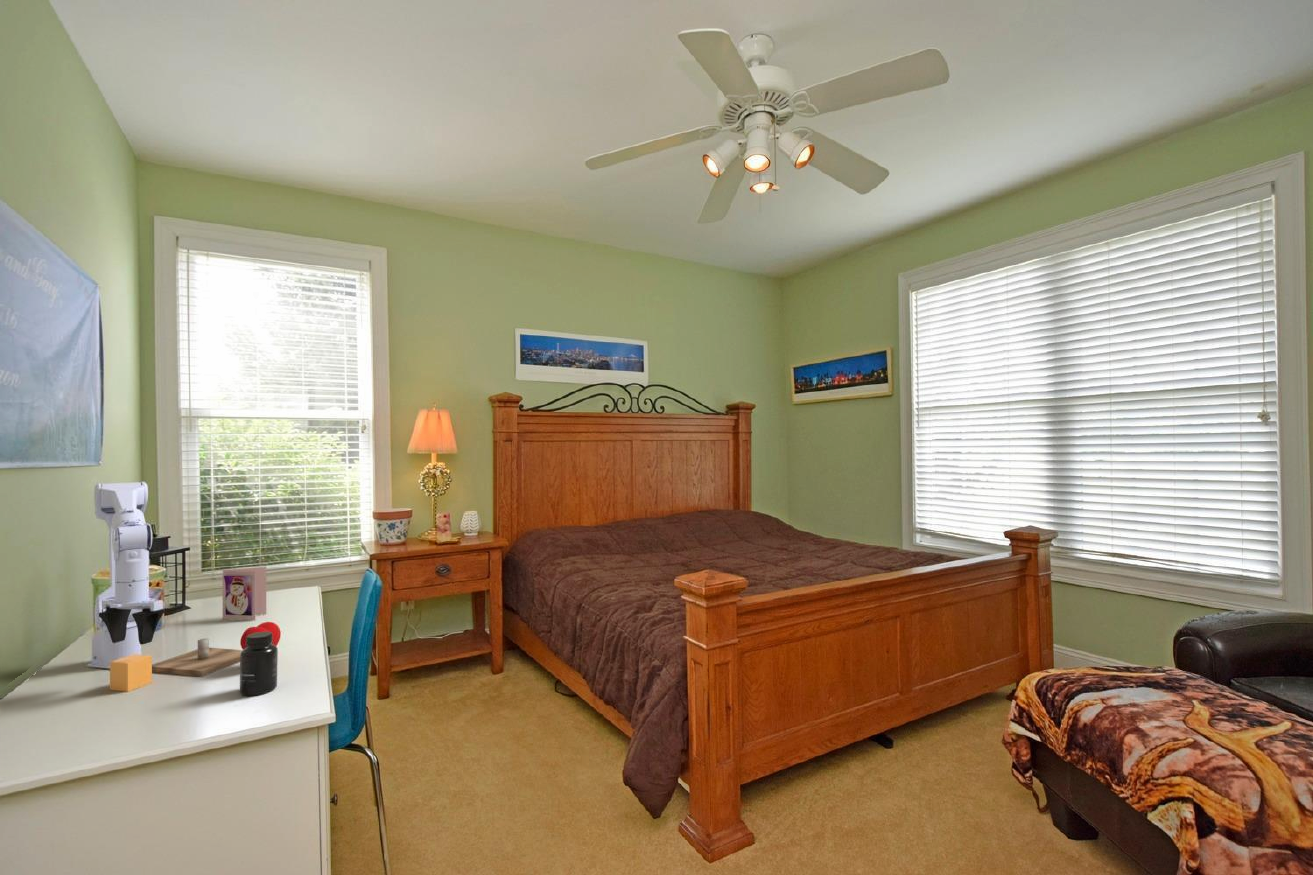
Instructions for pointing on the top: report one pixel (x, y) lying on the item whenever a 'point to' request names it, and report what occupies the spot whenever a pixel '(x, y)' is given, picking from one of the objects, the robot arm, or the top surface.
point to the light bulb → (262, 628)
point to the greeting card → (244, 593)
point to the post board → (199, 660)
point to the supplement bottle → (258, 665)
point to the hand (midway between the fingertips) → (132, 642)
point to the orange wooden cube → (130, 672)
